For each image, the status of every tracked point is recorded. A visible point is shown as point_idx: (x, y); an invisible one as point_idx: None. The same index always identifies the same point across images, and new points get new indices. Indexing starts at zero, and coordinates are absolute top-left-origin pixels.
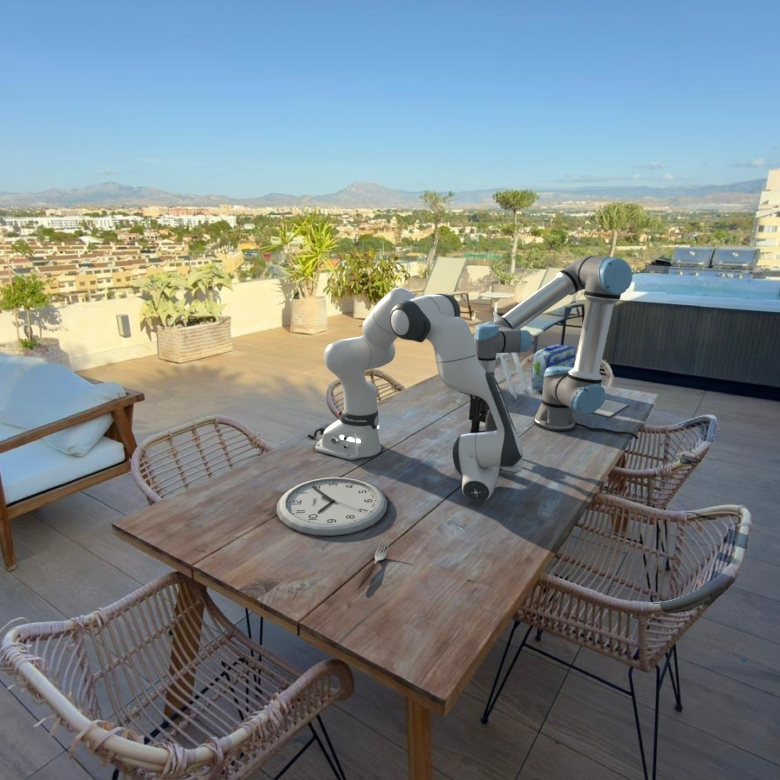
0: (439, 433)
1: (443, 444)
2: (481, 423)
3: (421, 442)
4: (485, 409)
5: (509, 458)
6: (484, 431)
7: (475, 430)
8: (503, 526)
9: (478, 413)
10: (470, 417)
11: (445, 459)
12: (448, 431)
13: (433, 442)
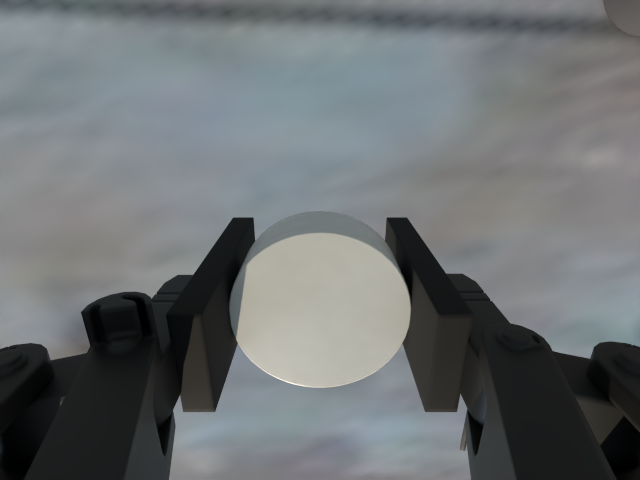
0: (260, 451)
1: (392, 382)
2: (292, 291)
3: (425, 464)
4: (139, 431)
5: None
6: (244, 226)
7: (462, 274)
8: None
9: (598, 450)
10: (636, 463)
11: (597, 292)
12: (201, 432)
13: (394, 427)
